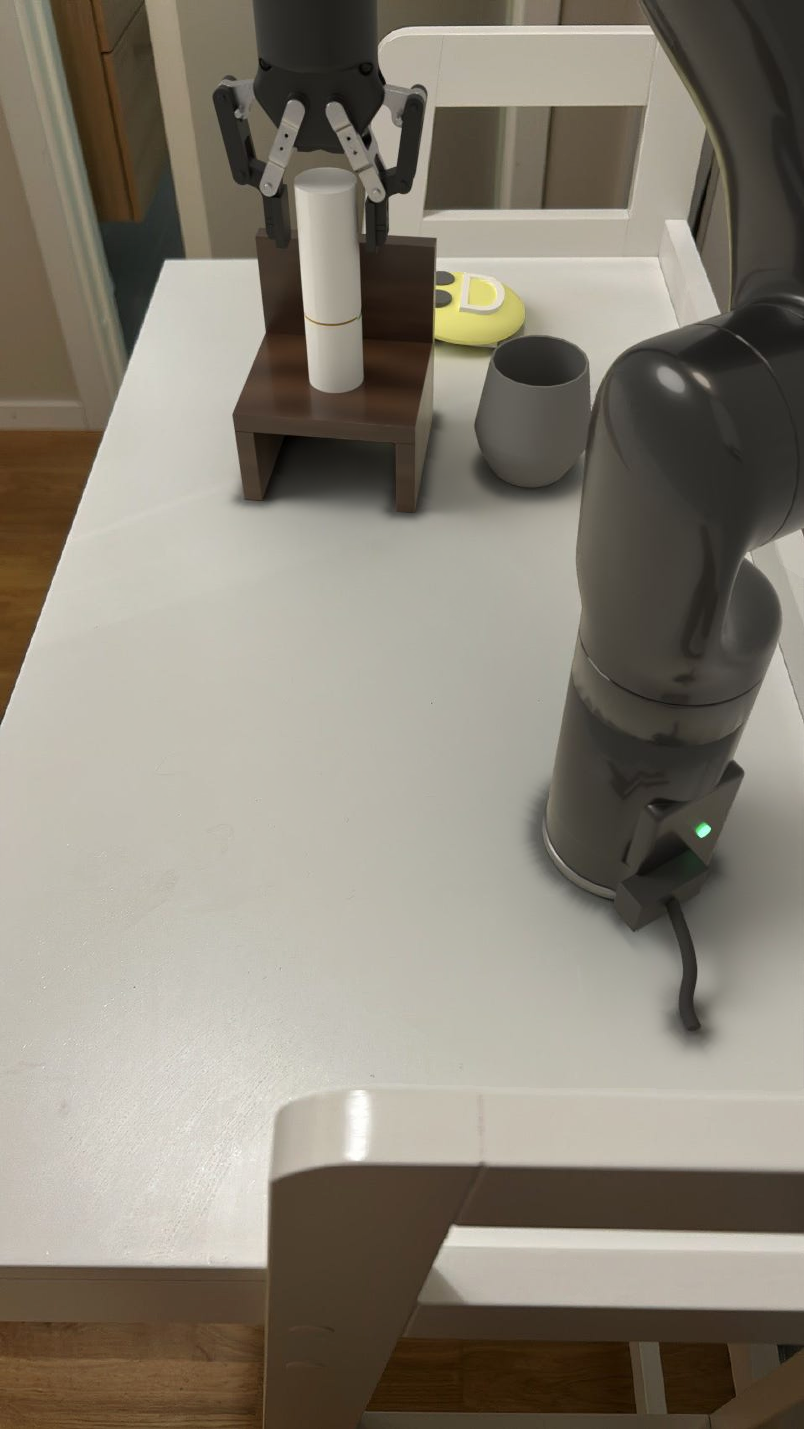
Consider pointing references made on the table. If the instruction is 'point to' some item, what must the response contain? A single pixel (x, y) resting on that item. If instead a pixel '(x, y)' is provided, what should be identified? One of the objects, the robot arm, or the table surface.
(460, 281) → the emoji
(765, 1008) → the table surface
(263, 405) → the wooden doll chair
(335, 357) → the tube
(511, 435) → the cup
